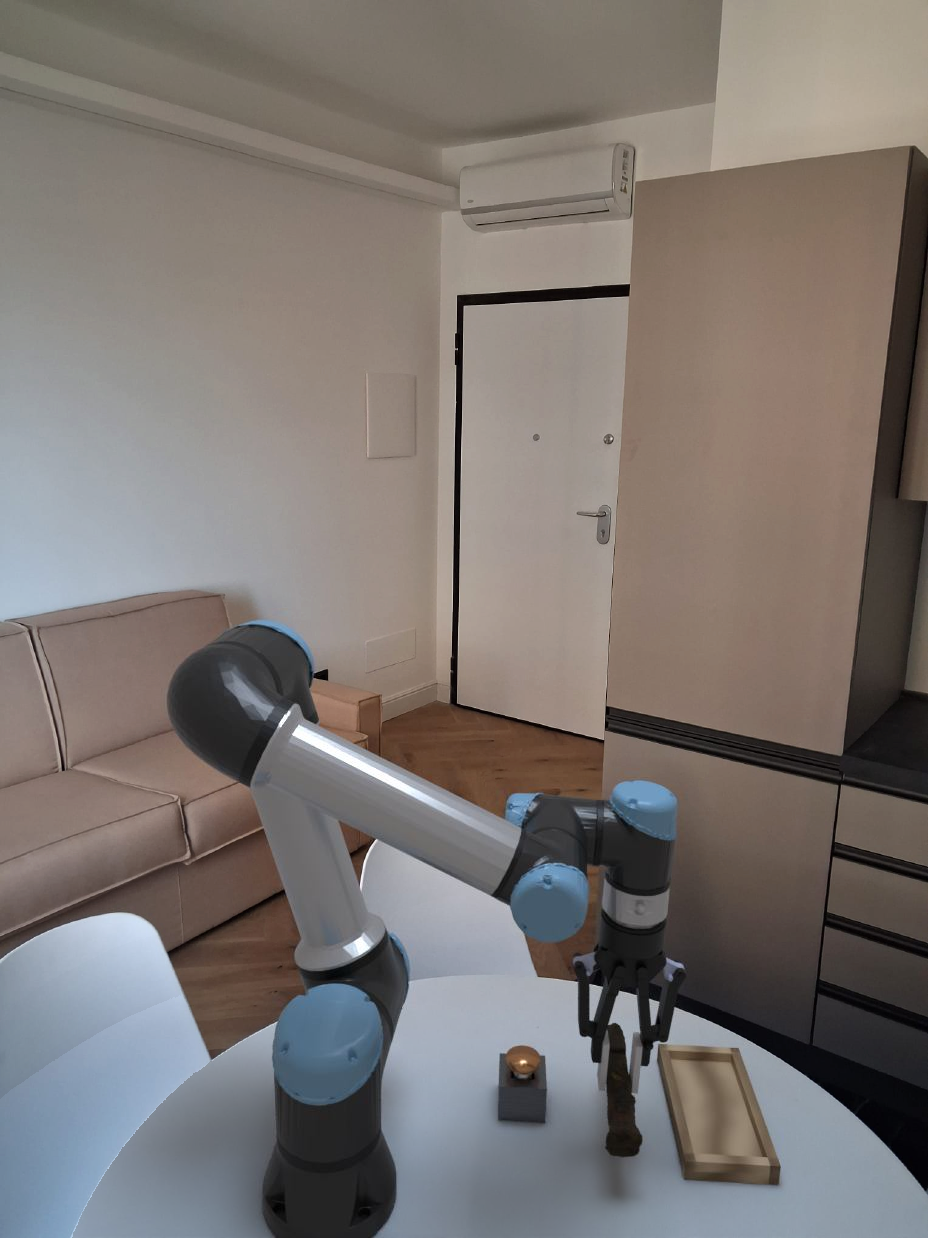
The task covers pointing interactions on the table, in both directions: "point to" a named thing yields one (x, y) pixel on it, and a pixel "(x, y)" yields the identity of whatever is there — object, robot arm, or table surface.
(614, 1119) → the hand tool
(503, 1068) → the socket block
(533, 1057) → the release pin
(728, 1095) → the tray
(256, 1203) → the table surface
